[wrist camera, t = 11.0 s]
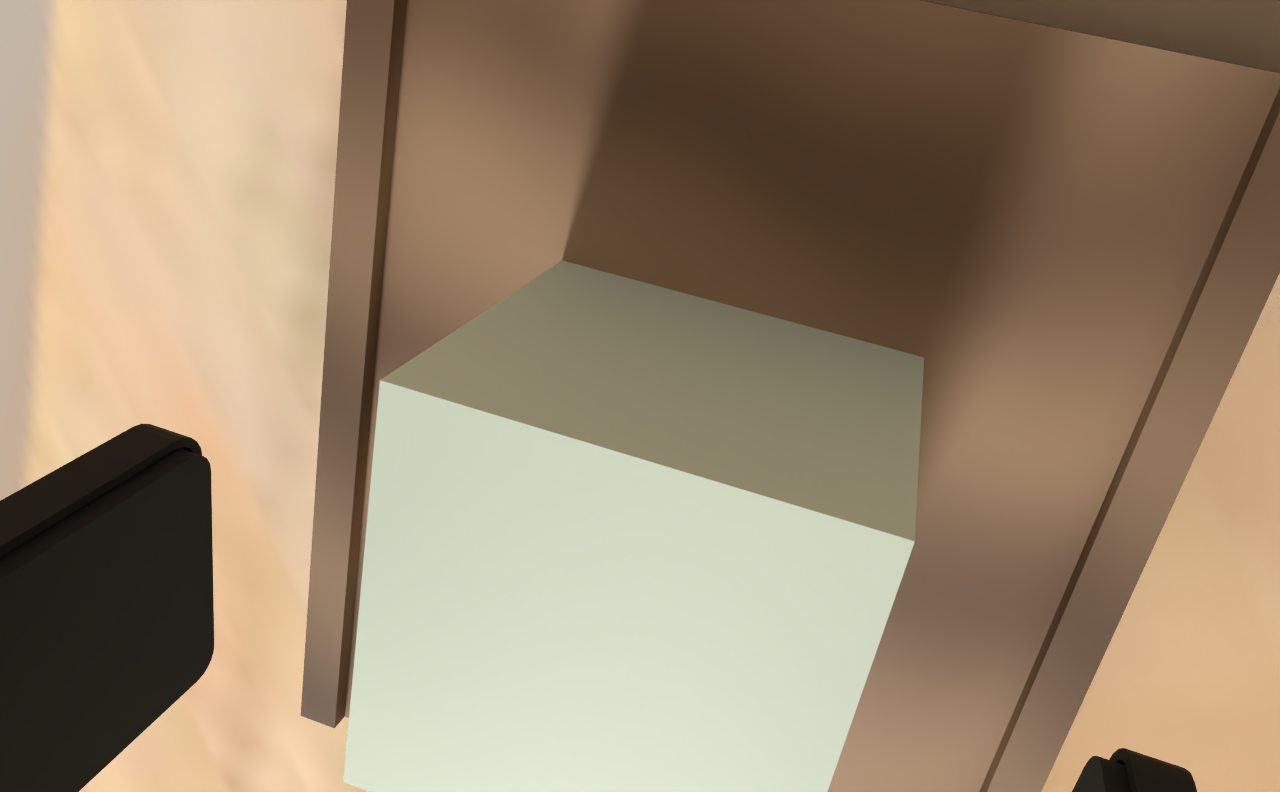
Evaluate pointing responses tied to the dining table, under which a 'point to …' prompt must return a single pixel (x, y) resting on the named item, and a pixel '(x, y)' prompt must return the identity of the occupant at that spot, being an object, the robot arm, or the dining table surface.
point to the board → (837, 288)
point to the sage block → (628, 546)
